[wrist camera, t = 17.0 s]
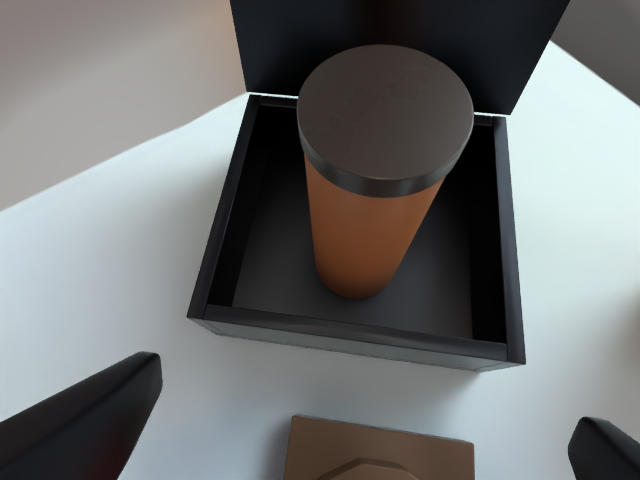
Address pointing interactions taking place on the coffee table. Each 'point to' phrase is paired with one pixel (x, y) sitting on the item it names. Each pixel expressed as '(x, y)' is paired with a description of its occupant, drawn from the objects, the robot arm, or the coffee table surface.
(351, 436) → the block
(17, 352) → the coffee table surface
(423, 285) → the black open box
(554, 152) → the coffee table surface
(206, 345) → the coffee table surface
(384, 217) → the copper tin
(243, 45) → the lid
